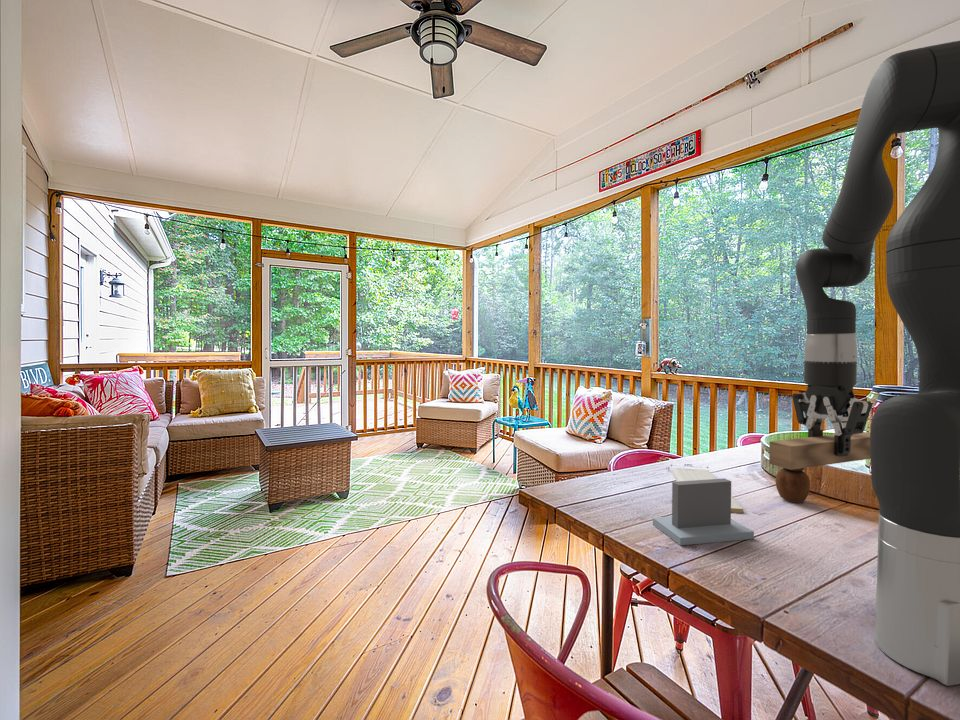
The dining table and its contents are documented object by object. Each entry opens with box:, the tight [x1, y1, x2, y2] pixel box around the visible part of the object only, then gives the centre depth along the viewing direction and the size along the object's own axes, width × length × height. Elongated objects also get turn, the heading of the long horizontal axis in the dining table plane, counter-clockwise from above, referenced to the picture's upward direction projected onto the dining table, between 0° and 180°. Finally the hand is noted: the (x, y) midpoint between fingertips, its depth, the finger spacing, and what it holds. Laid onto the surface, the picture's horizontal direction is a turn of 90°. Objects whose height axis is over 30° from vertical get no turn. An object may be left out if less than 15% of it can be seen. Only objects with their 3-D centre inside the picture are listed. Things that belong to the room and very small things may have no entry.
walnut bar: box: [768, 431, 871, 470], centre depth 82 cm, size 24×4×4 cm, turn 108°
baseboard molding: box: [667, 463, 744, 514], centre depth 119 cm, size 31×3×12 cm
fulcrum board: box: [652, 477, 755, 546], centre depth 93 cm, size 10×16×10 cm, turn 99°
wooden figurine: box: [775, 467, 811, 504], centre depth 110 cm, size 7×6×15 cm
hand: (828, 452), depth 82 cm, fingers closed on walnut bar, 4 cm apart
